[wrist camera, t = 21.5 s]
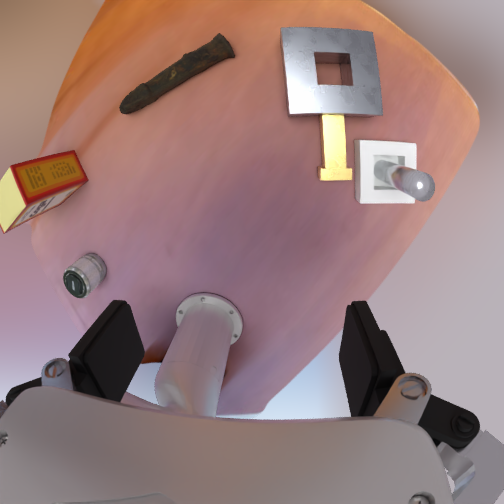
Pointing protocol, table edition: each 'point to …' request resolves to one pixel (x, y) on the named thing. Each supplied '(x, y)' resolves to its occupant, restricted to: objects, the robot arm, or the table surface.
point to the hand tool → (177, 73)
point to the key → (333, 148)
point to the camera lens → (84, 275)
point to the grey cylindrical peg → (405, 179)
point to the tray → (365, 160)
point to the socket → (330, 51)
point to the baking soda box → (38, 187)
